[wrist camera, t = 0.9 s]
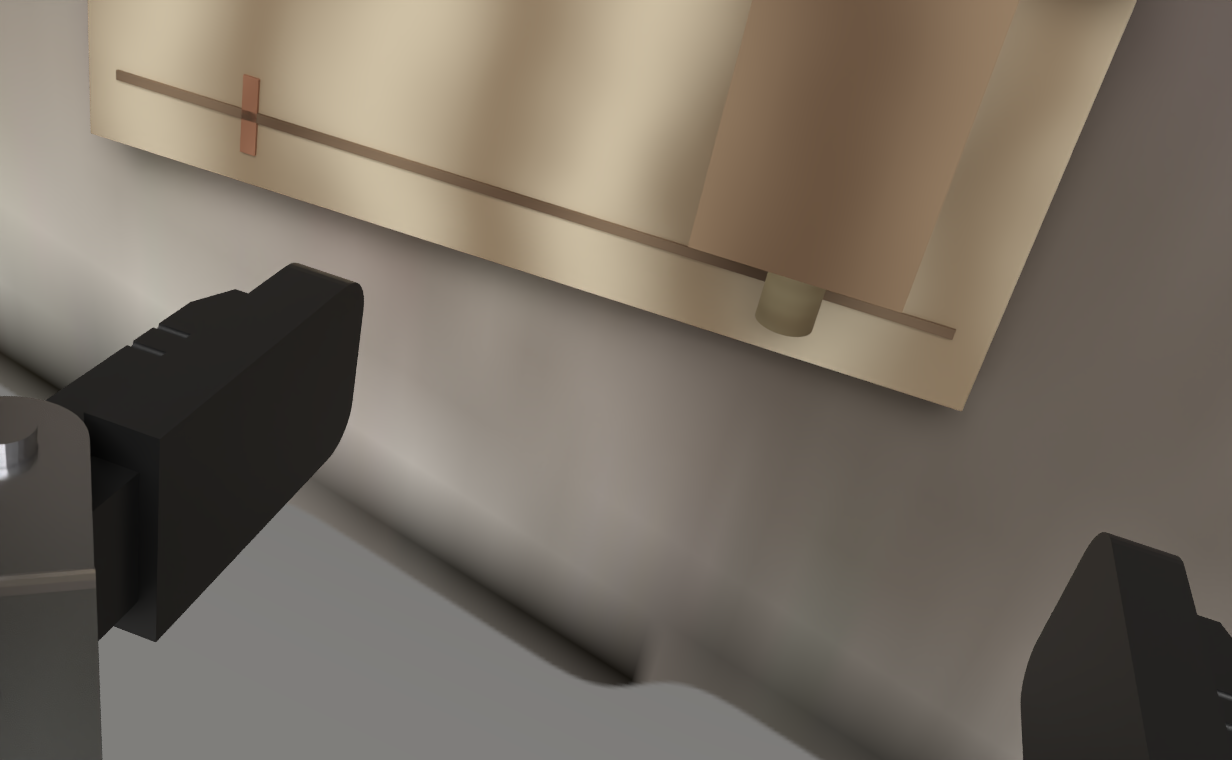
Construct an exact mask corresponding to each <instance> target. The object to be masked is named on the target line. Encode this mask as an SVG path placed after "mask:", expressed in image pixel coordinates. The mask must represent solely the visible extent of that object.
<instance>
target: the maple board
mask: <svg viewBox="0 0 1232 760" xmlns="http://www.w3.org/2000/svg"><path fill="white" fill-rule="evenodd" d="M1136 2H1137V0H1020V1H1019V3H1018V6H1017V9H1016V11H1015V14H1014V17H1013V19H1012V22H1011V25H1010V27H1009V30H1008V32H1007V35H1006V38H1005V40H1004V43H1003V46H1002V48H1001V51H1000V54H999V56H998V59H997V62H996V64H995V67H994V70H993V72H992V75H991V78H990V80H989V83H988V86H987V88H986V91H985V94H984V96H983V99H982V102H981V104H980V107H979V110H978V112H977V115H976V118H975V120H974V123H973V126H972V128H971V131H970V134H969V136H968V139H967V142H966V144H965V147H964V149H963V152H962V155H961V157H960V160H959V163H958V165H957V168H956V171H955V173H954V176H953V179H952V181H951V184H950V187H949V189H948V192H947V195H946V197H945V200H944V203H943V205H942V208H941V211H940V213H939V216H938V219H937V221H936V224H935V227H934V229H933V232H932V235H931V237H930V240H929V243H928V245H927V248H926V251H925V253H924V256H923V259H922V261H921V264H920V266H919V269H918V272H917V274H916V277H915V280H914V282H913V285H912V288H911V290H910V293H909V296H908V298H907V301H906V304H905V306H904V309H903V312H902V313H899V312H896V311H893V310H890V309H887V308H883V307H880V306H877V305H874V304H870V303H867V302H864V301H861V300H858V299H854V298H851V297H848V296H845V295H841V294H838V293H835V292H832V291H829V290H826V291H825V294H824V297H823V300H822V303H821V306H820V309H819V312H818V315H817V318H816V321H815V324H814V327H813V330H812V332H811V334H809V335H807V336H804V337H790V336H784V335H781V334H778V333H775V332H772V331H770V330H768V329H767V328H765V327H763V326H762V325H761V324H760V323H759V322H758V321H757V320H756V317H755V313H756V310H757V307H758V303H759V300H760V297H761V293H762V290H763V287H764V283H765V280H766V277H767V274H768V272H767V271H764V270H761V269H758V268H754V267H751V266H748V265H745V264H741V263H738V262H735V261H732V260H729V259H725V258H722V257H719V256H716V255H712V254H709V253H706V252H703V251H700V250H696V249H693V248H690V247H688V244H689V240H690V236H691V233H692V229H693V225H694V221H695V217H696V214H697V210H698V206H699V202H700V198H701V194H702V191H703V187H704V183H705V179H706V175H707V171H708V168H709V164H710V160H711V156H712V152H713V149H714V145H715V141H716V137H717V133H718V129H719V126H720V122H721V118H722V114H723V110H724V106H725V103H726V99H727V95H728V91H729V87H730V84H731V80H732V76H733V72H734V68H735V64H736V61H737V57H738V53H739V49H740V45H741V41H742V38H743V34H744V30H745V26H746V22H747V19H748V15H749V11H750V7H751V3H752V0H88V35H89V78H90V121H91V133H92V134H95V135H98V136H101V137H104V138H107V139H111V140H114V141H117V142H120V143H123V144H126V145H129V146H132V147H136V148H139V149H142V150H145V151H148V152H151V153H154V154H157V155H161V156H164V157H167V158H170V159H173V160H176V161H179V162H183V163H186V164H189V165H192V166H195V167H198V168H201V169H204V170H208V171H211V172H214V173H217V174H220V175H223V176H226V177H229V178H233V179H236V180H239V181H242V182H245V183H248V184H251V185H255V186H258V187H261V188H264V189H267V190H270V191H273V192H276V193H280V194H283V195H286V196H289V197H292V198H295V199H298V200H301V201H305V202H308V203H311V204H314V205H317V206H320V207H323V208H327V209H330V210H333V211H336V212H339V213H342V214H345V215H348V216H352V217H355V218H358V219H361V220H364V221H367V222H370V223H373V224H377V225H380V226H383V227H386V228H389V229H392V230H395V231H399V232H402V233H405V234H408V235H411V236H414V237H417V238H420V239H424V240H427V241H430V242H433V243H436V244H439V245H442V246H445V247H449V248H452V249H455V250H458V251H461V252H464V253H467V254H471V255H474V256H477V257H480V258H483V259H486V260H489V261H492V262H496V263H499V264H502V265H505V266H508V267H511V268H514V269H517V270H521V271H524V272H527V273H530V274H533V275H536V276H539V277H543V278H546V279H549V280H552V281H555V282H558V283H561V284H564V285H568V286H571V287H574V288H577V289H580V290H583V291H586V292H589V293H593V294H596V295H599V296H602V297H605V298H608V299H611V300H615V301H618V302H621V303H624V304H627V305H630V306H633V307H636V308H640V309H643V310H646V311H649V312H652V313H655V314H658V315H661V316H665V317H668V318H671V319H674V320H677V321H680V322H683V323H687V324H690V325H693V326H696V327H699V328H702V329H705V330H708V331H712V332H715V333H718V334H721V335H724V336H727V337H730V338H733V339H737V340H740V341H743V342H746V343H749V344H752V345H755V346H759V347H762V348H765V349H768V350H771V351H774V352H777V353H780V354H784V355H787V356H790V357H793V358H796V359H799V360H802V361H805V362H809V363H812V364H815V365H818V366H821V367H824V368H827V369H831V370H834V371H837V372H840V373H843V374H846V375H849V376H852V377H856V378H859V379H862V380H865V381H868V382H871V383H874V384H877V385H881V386H884V387H887V388H890V389H893V390H896V391H899V392H903V393H906V394H909V395H912V396H915V397H918V398H921V399H924V400H928V401H931V402H934V403H937V404H940V405H943V406H946V407H949V408H953V409H956V410H959V411H962V410H963V407H964V405H965V403H966V400H967V398H968V396H969V393H970V391H971V389H972V386H973V384H974V381H975V379H976V377H977V374H978V372H979V370H980V367H981V365H982V363H983V360H984V358H985V356H986V353H987V351H988V349H989V346H990V344H991V342H992V339H993V337H994V335H995V332H996V330H997V328H998V325H999V323H1000V320H1001V318H1002V316H1003V313H1004V311H1005V309H1006V306H1007V304H1008V302H1009V299H1010V297H1011V295H1012V292H1013V290H1014V288H1015V285H1016V283H1017V281H1018V278H1019V276H1020V274H1021V271H1022V269H1023V267H1024V264H1025V262H1026V260H1027V257H1028V255H1029V252H1030V250H1031V248H1032V245H1033V243H1034V241H1035V238H1036V236H1037V234H1038V231H1039V229H1040V227H1041V224H1042V222H1043V220H1044V217H1045V215H1046V213H1047V210H1048V208H1049V206H1050V203H1051V201H1052V199H1053V196H1054V194H1055V191H1056V189H1057V187H1058V184H1059V182H1060V180H1061V177H1062V175H1063V173H1064V170H1065V168H1066V166H1067V163H1068V161H1069V159H1070V156H1071V154H1072V152H1073V149H1074V147H1075V145H1076V142H1077V140H1078V138H1079V135H1080V133H1081V131H1082V128H1083V126H1084V123H1085V121H1086V119H1087V116H1088V114H1089V112H1090V109H1091V107H1092V105H1093V102H1094V100H1095V98H1096V95H1097V93H1098V91H1099V88H1100V86H1101V84H1102V81H1103V79H1104V77H1105V74H1106V72H1107V70H1108V67H1109V65H1110V62H1111V60H1112V58H1113V55H1114V53H1115V51H1116V48H1117V46H1118V44H1119V41H1120V39H1121V37H1122V34H1123V32H1124V30H1125V27H1126V25H1127V23H1128V20H1129V18H1130V16H1131V13H1132V11H1133V9H1134V6H1135V4H1136Z"/></svg>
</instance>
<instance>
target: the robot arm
mask: <svg viewBox="0 0 1232 760" xmlns="http://www.w3.org/2000/svg"><path fill="white" fill-rule="evenodd" d="M363 308H364V295H363V290H362V287H361V286H360V284H358V283H356V282H353V281H350V280H347V279H344V278H341V277H338V276H335V275H332V274H329V273H326V272H323V271H320V270H317V269H314V268H311V267H308V266H305V265H302V264H299V263H292V264H289V265H287V266H286V267H284V268H283V269H282V270H280V271H279V272H277V273H276V274H275V275H273V276H272V277H270V278H269V279H268V280H266V281H265V282H264V283H262V284H261V285H259V286H258V287H257V288H255V289H254V290H252V291H251V292H250V293H245V292H242V291H239V290H236V289H235V290H231V291H228V292H224V293H221V294H217V295H214V296H210V297H207V298H203V299H200V300H196V301H193V302H190V303H189V304H187V305H186V306H184V307H183V308H181V309H180V310H178V311H177V312H175V313H174V314H172V315H171V316H169V317H168V318H166V319H165V320H163V321H162V322H161V323H159V327H158V328H157V329H156V328H152V329H150V330H149V331H147V332H146V333H144V334H143V335H141V336H140V337H138V338H137V339H135V340H134V341H133V345H132V346H131V347H130V346H128V345H127V346H125V347H124V348H122V349H121V350H119V351H118V352H116V353H115V354H113V355H112V356H110V357H109V358H107V359H106V360H104V361H103V362H102V363H100V364H99V365H97V366H96V367H94V368H93V369H91V370H90V371H88V372H87V373H85V374H84V375H82V376H81V377H79V378H78V379H76V380H75V381H73V382H72V383H71V384H69V385H68V386H66V387H65V388H63V389H62V390H60V391H59V392H57V393H56V394H54V395H53V396H51V397H50V398H48V399H47V400H45V401H44V400H40V399H35V398H27V397H17V396H0V760H102V737H101V709H100V682H99V653H98V641H99V640H100V639H101V638H102V637H103V636H104V635H105V634H106V633H107V632H108V631H109V630H110V629H111V628H112V627H113V626H115V627H117V628H120V629H122V630H125V631H128V632H130V633H133V634H135V635H138V636H141V637H143V638H146V639H149V640H151V641H154V642H157V640H158V639H159V638H160V637H161V636H162V635H163V634H164V633H165V632H166V631H167V630H168V629H169V628H170V627H171V626H172V624H173V623H174V622H175V621H176V620H177V619H178V618H179V617H180V616H181V615H182V614H183V613H184V612H185V611H186V610H187V609H188V608H189V606H190V605H191V604H192V603H193V602H194V601H195V600H196V599H197V598H198V597H199V596H200V595H201V594H202V592H203V591H204V590H205V589H206V588H207V587H208V586H209V585H210V584H211V583H212V582H213V581H214V580H215V579H216V578H217V576H219V575H220V573H221V572H222V571H223V570H224V569H225V568H226V567H227V566H228V565H229V564H230V563H231V562H232V561H233V560H234V559H235V558H236V556H237V555H238V554H239V553H240V552H241V551H242V550H243V549H244V548H245V547H246V546H247V545H248V544H249V543H250V542H251V540H252V539H253V538H254V537H255V536H256V535H257V534H258V533H259V532H260V531H261V530H262V529H263V528H264V527H265V526H266V525H267V523H268V522H269V521H270V520H271V519H272V518H273V517H274V516H275V515H276V514H277V513H278V512H279V511H280V510H281V508H282V507H283V506H284V505H285V504H286V503H287V502H288V501H289V500H290V499H291V498H292V497H293V496H294V495H295V494H296V493H297V492H298V490H299V489H300V488H301V487H302V486H303V485H304V484H305V483H306V482H307V481H308V480H309V479H310V478H311V477H312V476H313V475H314V473H315V472H316V471H317V470H318V469H319V468H320V467H321V466H322V465H323V464H324V463H325V462H326V461H327V460H328V458H329V457H330V456H331V455H332V453H333V452H334V450H335V449H336V447H337V445H338V444H339V442H340V440H341V438H342V436H343V433H344V431H345V428H346V426H347V423H348V419H349V416H350V412H351V407H352V401H353V392H354V384H355V376H356V367H357V359H358V350H359V342H360V333H361V325H362V317H363ZM1021 723H1022V744H1023V760H1232V637H1231V636H1230V635H1229V634H1228V632H1227V631H1226V630H1225V628H1224V627H1223V626H1222V624H1221V623H1220V622H1217V621H1214V620H1211V619H1208V618H1205V617H1202V616H1199V615H1197V613H1196V609H1195V605H1194V601H1193V597H1192V594H1191V590H1190V586H1189V582H1188V578H1187V575H1186V571H1185V567H1184V564H1183V561H1182V560H1181V558H1180V557H1178V556H1176V555H1173V554H1170V553H1167V552H1163V551H1160V550H1157V549H1154V548H1151V547H1148V546H1145V545H1142V544H1139V543H1136V542H1133V541H1130V540H1127V539H1124V538H1121V537H1118V536H1115V535H1112V534H1109V533H1106V532H1102V533H1100V534H1098V535H1097V536H1096V537H1095V538H1094V539H1093V540H1092V542H1091V543H1090V545H1089V546H1088V548H1087V549H1086V551H1085V553H1084V555H1083V557H1082V558H1081V560H1080V562H1079V564H1078V566H1077V568H1076V570H1075V571H1074V573H1073V575H1072V577H1071V579H1070V581H1069V583H1068V584H1067V586H1066V588H1065V590H1064V592H1063V594H1062V596H1061V597H1060V599H1059V601H1058V603H1057V605H1056V607H1055V609H1054V610H1053V612H1052V614H1051V616H1050V618H1049V620H1048V622H1047V623H1046V625H1045V627H1044V629H1043V631H1042V633H1041V635H1040V636H1039V638H1038V640H1037V642H1036V644H1035V646H1034V649H1033V651H1032V653H1031V656H1030V659H1029V661H1028V665H1027V668H1026V672H1025V676H1024V680H1023V685H1022V692H1021Z"/></svg>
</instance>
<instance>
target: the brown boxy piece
mask: <svg viewBox="0 0 1232 760" xmlns="http://www.w3.org/2000/svg"><path fill="white" fill-rule="evenodd" d="M1019 1H1020V0H752V3H751V7H750V11H749V15H748V19H747V22H746V26H745V30H744V34H743V38H742V41H741V45H740V49H739V53H738V57H737V61H736V64H735V68H734V72H733V76H732V80H731V84H730V87H729V91H728V95H727V99H726V103H725V106H724V110H723V114H722V118H721V122H720V126H719V129H718V133H717V137H716V141H715V145H714V149H713V152H712V156H711V160H710V164H709V168H708V171H707V175H706V179H705V183H704V187H703V191H702V194H701V198H700V202H699V206H698V210H697V214H696V217H695V221H694V225H693V229H692V233H691V236H690V240H689V244H688V247H690V248H693V249H696V250H700V251H703V252H706V253H709V254H712V255H716V256H719V257H722V258H725V259H729V260H732V261H735V262H738V263H741V264H745V265H748V266H751V267H754V268H758V269H761V270H764V271H767V272H768V274H767V277H766V280H765V283H764V287H763V290H762V293H761V297H760V300H759V303H758V307H757V310H756V313H755V317H756V320H757V321H758V322H759V323H760V324H761V325H762V326H763V327H765V328H767V329H768V330H770V331H772V332H775V333H778V334H781V335H784V336H790V337H804V336H807V335H809V334H811V332H812V330H813V327H814V324H815V321H816V318H817V315H818V312H819V309H820V306H821V303H822V300H823V297H824V294H825V291H826V290H829V291H832V292H835V293H838V294H841V295H845V296H848V297H851V298H854V299H858V300H861V301H864V302H867V303H870V304H874V305H877V306H880V307H883V308H887V309H890V310H893V311H896V312H899V313H902V312H903V309H904V306H905V304H906V301H907V298H908V296H909V293H910V290H911V288H912V285H913V282H914V280H915V277H916V274H917V272H918V269H919V266H920V264H921V261H922V259H923V256H924V253H925V251H926V248H927V245H928V243H929V240H930V237H931V235H932V232H933V229H934V227H935V224H936V221H937V219H938V216H939V213H940V211H941V208H942V205H943V203H944V200H945V197H946V195H947V192H948V189H949V187H950V184H951V181H952V179H953V176H954V173H955V171H956V168H957V165H958V163H959V160H960V157H961V155H962V152H963V149H964V147H965V144H966V142H967V139H968V136H969V134H970V131H971V128H972V126H973V123H974V120H975V118H976V115H977V112H978V110H979V107H980V104H981V102H982V99H983V96H984V94H985V91H986V88H987V86H988V83H989V80H990V78H991V75H992V72H993V70H994V67H995V64H996V62H997V59H998V56H999V54H1000V51H1001V48H1002V46H1003V43H1004V40H1005V38H1006V35H1007V32H1008V30H1009V27H1010V25H1011V22H1012V19H1013V17H1014V14H1015V11H1016V9H1017V6H1018V3H1019Z"/></svg>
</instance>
